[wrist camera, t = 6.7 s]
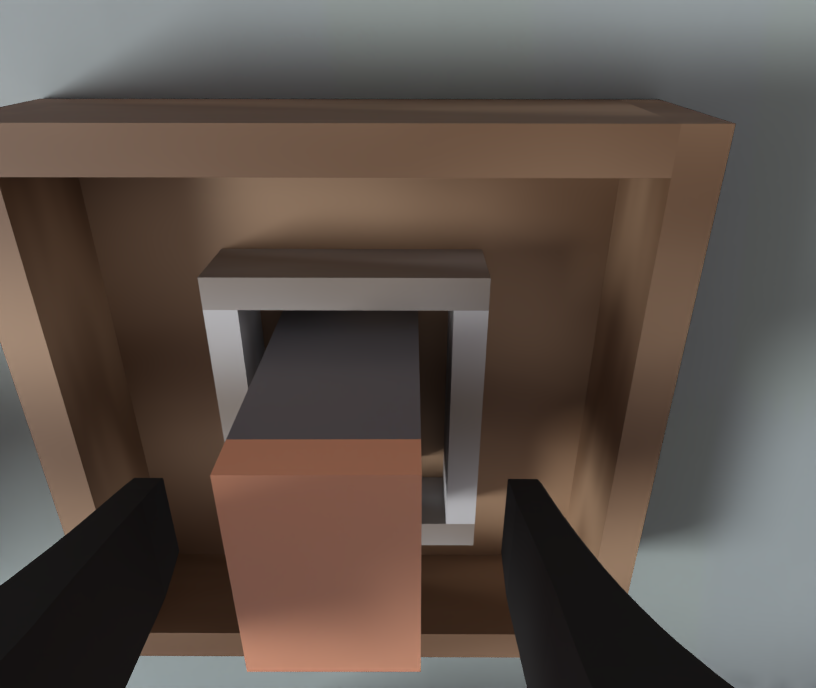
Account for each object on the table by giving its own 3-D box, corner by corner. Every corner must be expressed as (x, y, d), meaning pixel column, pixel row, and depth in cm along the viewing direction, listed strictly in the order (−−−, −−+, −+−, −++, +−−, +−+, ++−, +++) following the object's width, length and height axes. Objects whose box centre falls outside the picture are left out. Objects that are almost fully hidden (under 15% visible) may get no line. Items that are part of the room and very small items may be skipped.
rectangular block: (417, 456, 19) (420, 671, 13) (301, 456, 19) (247, 671, 13) (417, 304, 17) (421, 474, 10) (285, 304, 17) (210, 475, 10)
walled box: (580, 554, 22) (613, 657, 18) (154, 553, 22) (105, 655, 19) (659, 99, 15) (735, 123, 12) (40, 98, 15) (-73, 122, 12)
